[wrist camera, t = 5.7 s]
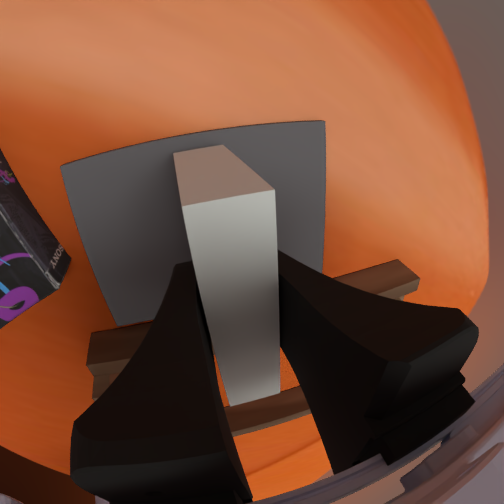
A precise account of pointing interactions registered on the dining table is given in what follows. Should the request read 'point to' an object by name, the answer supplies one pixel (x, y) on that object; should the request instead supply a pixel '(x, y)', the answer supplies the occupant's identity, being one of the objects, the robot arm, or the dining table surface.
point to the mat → (170, 209)
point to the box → (25, 251)
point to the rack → (239, 416)
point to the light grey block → (234, 266)
